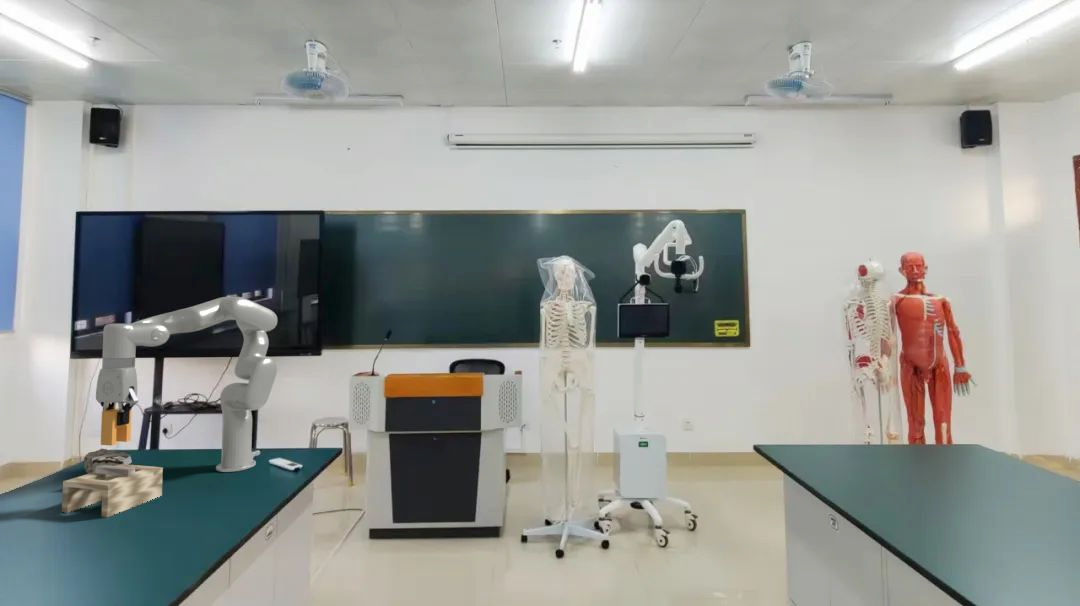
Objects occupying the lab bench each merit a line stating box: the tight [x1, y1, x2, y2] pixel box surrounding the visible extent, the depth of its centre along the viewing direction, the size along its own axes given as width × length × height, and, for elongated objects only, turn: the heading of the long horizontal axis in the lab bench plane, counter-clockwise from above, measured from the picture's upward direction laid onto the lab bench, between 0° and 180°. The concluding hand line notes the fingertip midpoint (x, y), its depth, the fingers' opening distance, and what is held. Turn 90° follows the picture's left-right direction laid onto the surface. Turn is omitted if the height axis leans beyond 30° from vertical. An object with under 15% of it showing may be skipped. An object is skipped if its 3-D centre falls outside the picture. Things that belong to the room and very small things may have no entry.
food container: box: [90, 453, 133, 473], centre depth 157 cm, size 12×6×10 cm, turn 84°
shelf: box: [61, 464, 164, 518], centre depth 142 cm, size 16×16×11 cm
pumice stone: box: [83, 448, 125, 474], centre depth 170 cm, size 14×12×8 cm
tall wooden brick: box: [100, 407, 132, 447], centre depth 143 cm, size 5×4×10 cm
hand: (116, 423), depth 143 cm, fingers closed on tall wooden brick, 4 cm apart
